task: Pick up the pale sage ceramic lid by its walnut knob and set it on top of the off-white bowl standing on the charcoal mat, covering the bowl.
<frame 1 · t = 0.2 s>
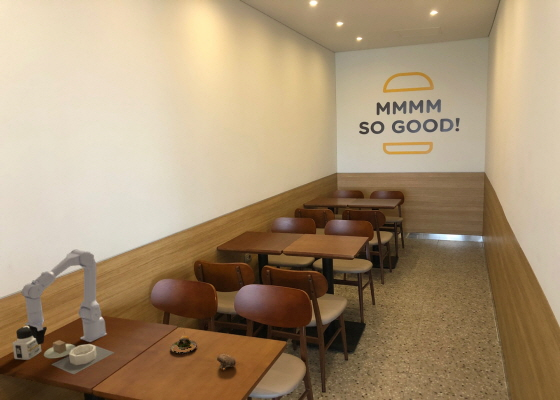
hand: (38, 340, 187), 10 cm above the table, fingers open, 7 cm apart
bowl: (83, 358, 189), resting on mat
mat: (83, 359, 189), on the table
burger: (184, 350, 196), on the table
mushroom: (226, 368, 179), on the table
container: (28, 355, 194), on the table
lid: (60, 352, 197), on the table
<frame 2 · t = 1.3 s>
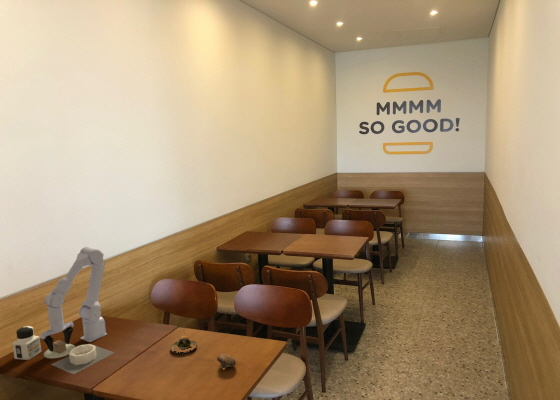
hand: (59, 347, 196), 2 cm above the table, fingers open, 7 cm apart
nothing on the table moved.
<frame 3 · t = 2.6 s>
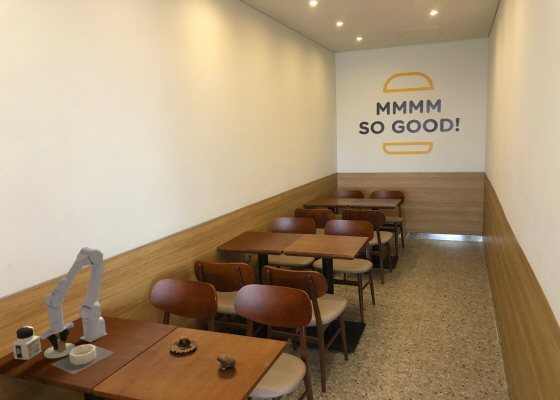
hand: (59, 347, 196), 2 cm above the table, fingers closed on lid, 3 cm apart
lid: (60, 351, 197), on the table, touching gripper
everything else where it was.
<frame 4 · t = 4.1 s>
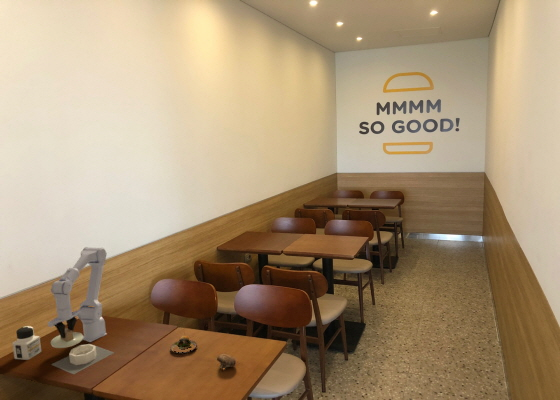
hand: (67, 335, 192), 9 cm above the table, fingers closed on lid, 3 cm apart
lid: (67, 340, 193), point 7 cm above the table, touching gripper
everything else where it was.
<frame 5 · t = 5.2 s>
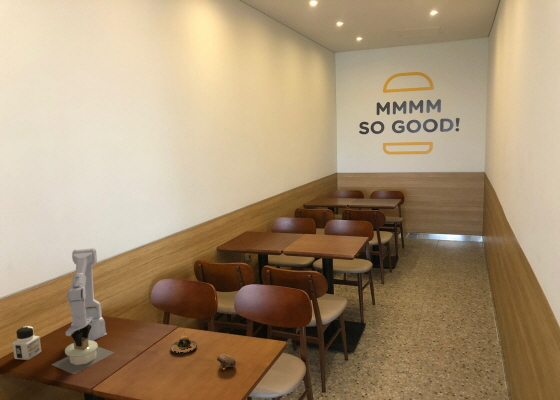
hand: (81, 344, 188), 7 cm above the table, fingers closed on lid, 3 cm apart
lid: (81, 349, 189), point 5 cm above the table, touching bowl, gripper
everything else where it was.
when the fingers open (7 cm above the table, at t = 5.8 s): lid stays where it is, resting on bowl.
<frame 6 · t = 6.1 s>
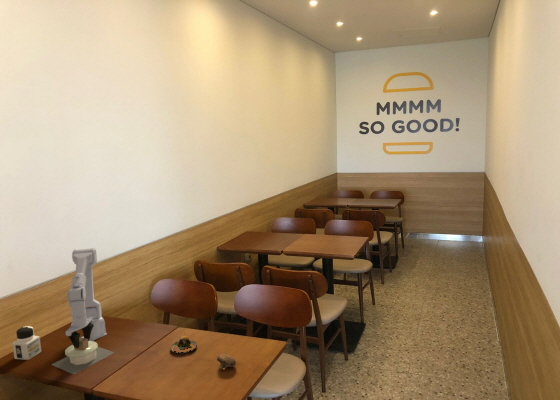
hand: (81, 344, 188), 7 cm above the table, fingers open, 6 cm apart
lid: (81, 349, 189), point 4 cm above the table, touching bowl
everything else where it was.
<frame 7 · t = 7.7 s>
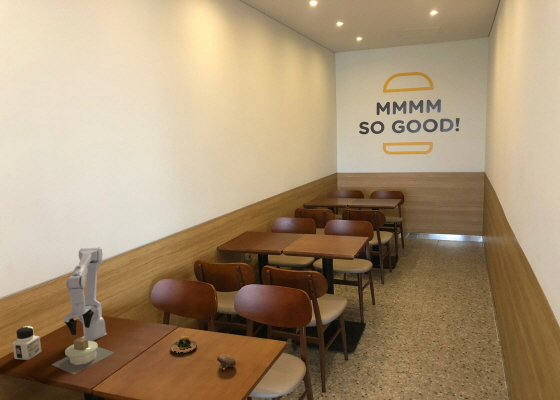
hand: (80, 331, 194), 10 cm above the table, fingers open, 7 cm apart
nothing on the table moved.
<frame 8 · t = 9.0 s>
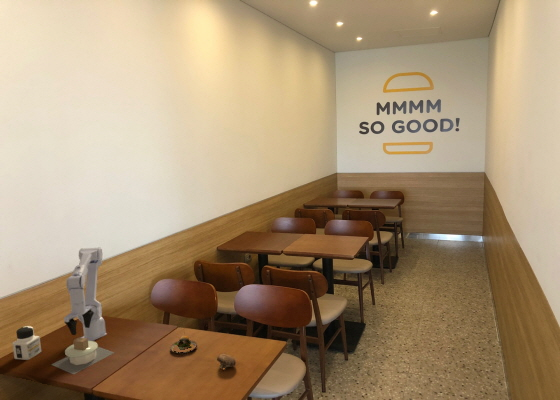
hand: (80, 331, 194), 10 cm above the table, fingers open, 7 cm apart
nothing on the table moved.
at the end: lid 0.5 cm off-centre on the bowl, point 4.0 cm above the bowl's base; lid tilted 0°; the gripper is holding nothing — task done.
